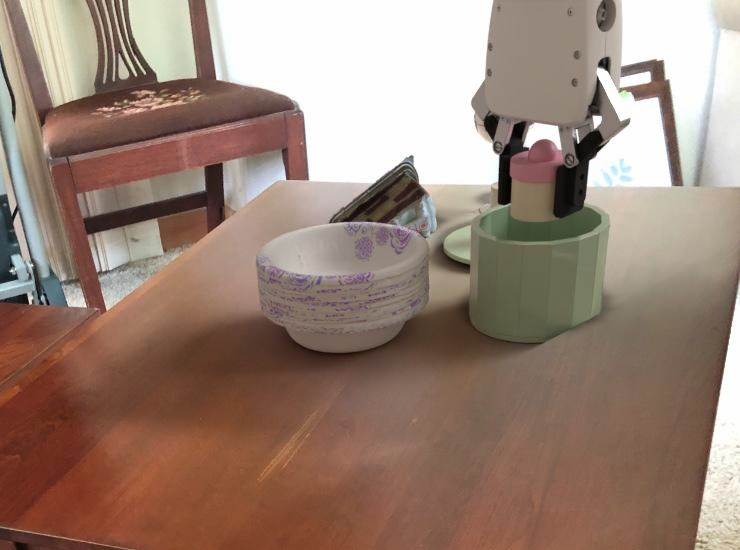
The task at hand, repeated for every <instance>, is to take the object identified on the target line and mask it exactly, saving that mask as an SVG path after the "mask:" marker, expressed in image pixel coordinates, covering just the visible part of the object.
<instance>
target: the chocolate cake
mask: <svg viewBox="0 0 740 550" xmlns="http://www.w3.org/2000/svg"><path fill="white" fill-rule="evenodd" d="M414 159H415V157H414V155H413V154H411V155H409V156H406V157H405V158H404V159H403V160H402V161H401V162H399V163H398V164H397V165H395V166H394V167H393V168H391V169H390V170H388V171H387V172H385V173H384V174H383V175H382V176H381V177H380V178H378V179H377V180H376V181H375V182H373V183H372V184H371V185H370V186H368V187H367V188H366V189H365V190H364V191H362V192H361V193H360V194H358V195H357V196H356V197H354V198H353V199H352V201H350V202H349V203H348V204H346V205H345V206H343V207H341V208H340V209H338V210H337V211H336V212H335V213H333V214H332V216H331V217H330V218H329V220H328V222H327V224H331V223H343V222H375V223H385V224H390V225H396V226H400V227H404V228H408V229H410V230H413V231H415V232H417V233H419V234H420V235H422V236H423V237H424V238H428V237H430V236H431V232H435V231H436V229H437V227H438V222H437V216H436V213H437V212H436V207H435V203H434V199H433V198H432V196H431V194H430V193H429V192H428V191H427V190H426V189H425V188H424V187H423V185H421V183H420V178H419V173H418V171H417V169H416V167H415V164H414V162H415V160H414Z"/></svg>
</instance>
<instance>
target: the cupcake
mask: <svg viewBox="0 0 740 550" xmlns="http://www.w3.org/2000/svg"><path fill="white" fill-rule="evenodd" d="M562 165H564V161H563V155H562V149H559V148H558V146H557V145H556V143H555V141H553V140H551V139H548V138H541V139H538V140H537V141H535V142H534V143H533V144H532V145H531V146H530V147H529V151H525V152H521V153H518V154H516V155H514V156H513V157H512V158H511V159H510V176H511V177H512V188H511V209H510V214H511V216H512V217H513V218H515V219H517V220H520V221H526V222H548V221H553V220H557V219H560V218H556V217H555V216H554V214H553V209H554V195H555V182H556V171H557V168H558V167H559V166H562Z"/></svg>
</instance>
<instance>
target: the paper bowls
mask: <svg viewBox="0 0 740 550" xmlns="http://www.w3.org/2000/svg"><path fill="white" fill-rule="evenodd" d="M255 268H256V275H257V289H258V290H257V291H258V296H259V305H260V309H261V312H262V315H264V316H265V317H266V318H267V319H268V320H270V321H271V322H272V323H274V324H276V325H278V326H280V327H282V328H284V329H285V330H286V331H287V333H288V335H289V336H290V338H291V339H292V340H293V341H295V342H296V344H298V345H300V346H301V347H304V348H307V349H309V350H313V351H315V352H316V351H317V352H322V353H330V354H346V353H347V354H348V353H356V352H363V351H367V350H371V349H374V348H377V347H379V346H382V345H384V344H386V343H388V342H389V341H392V340H393V339H394V338H395V337H396V336H397V335H398V334H399V333H400V332H401V331H402V330H403V329H402V328H403V327H404V325H405V323H406V321H409V320H410V319H412V318H414V317H415V316H417V315H418V314H419V313H421V312H422V311H423V310H424V309H425V308H426V306H427V305H428V303H429V302H430V246H429V243H428V241H427V240H426V237H424V236H422V235H421V234H419V233H417V232H415V231H413V230H410V229H408V228H404V227H400V226H396V225H390V224H385V223H375V222H343V223H331V224H328V223H323V224H318V225H317V224H316V225H311V226H307V227H303V228H297V229H295V230H291V231H289V232H286V233H283V234H280V235H278V236H276V237H274V238H272V239H271V240H269V241H267V242H266V243H265V244H263V245H262V246H261V247H260V248H259V250H258V251H257V254H256V257H255Z"/></svg>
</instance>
